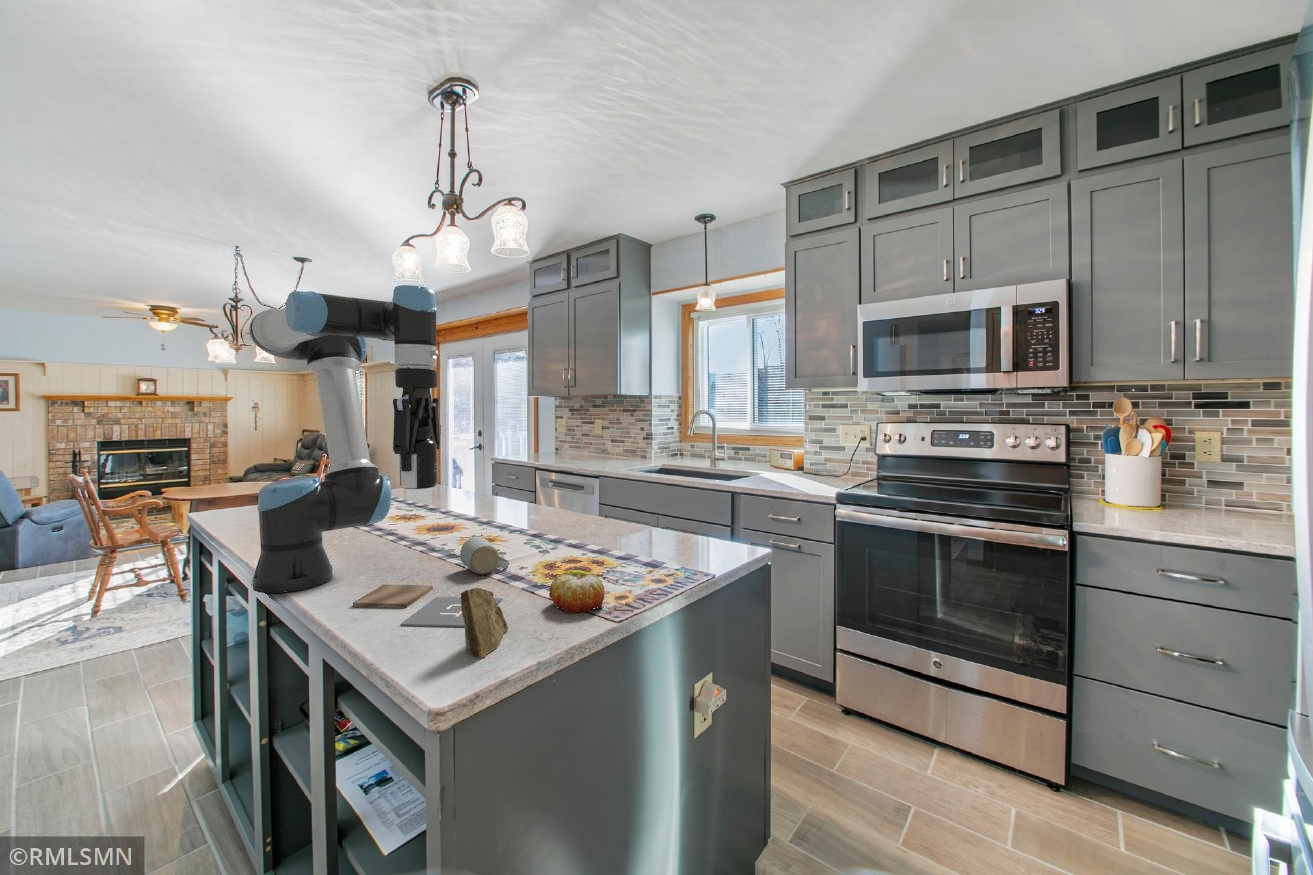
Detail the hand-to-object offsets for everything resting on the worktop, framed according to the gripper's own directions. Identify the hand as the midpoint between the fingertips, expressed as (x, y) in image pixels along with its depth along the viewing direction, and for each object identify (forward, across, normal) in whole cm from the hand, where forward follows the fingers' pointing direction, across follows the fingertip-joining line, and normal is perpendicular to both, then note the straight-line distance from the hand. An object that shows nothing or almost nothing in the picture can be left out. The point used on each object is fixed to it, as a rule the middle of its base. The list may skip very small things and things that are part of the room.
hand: (418, 484), depth 110 cm
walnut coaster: (+24, +3, +7) cm, 26 cm away
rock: (+24, -17, -21) cm, 36 cm away
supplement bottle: (+1, 0, 0) cm, 1 cm away
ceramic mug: (+25, +22, -5) cm, 34 cm away
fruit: (+24, 0, -32) cm, 40 cm away
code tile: (+24, -4, -9) cm, 26 cm away
